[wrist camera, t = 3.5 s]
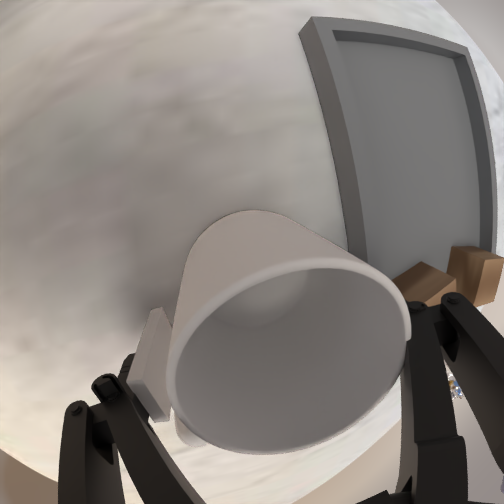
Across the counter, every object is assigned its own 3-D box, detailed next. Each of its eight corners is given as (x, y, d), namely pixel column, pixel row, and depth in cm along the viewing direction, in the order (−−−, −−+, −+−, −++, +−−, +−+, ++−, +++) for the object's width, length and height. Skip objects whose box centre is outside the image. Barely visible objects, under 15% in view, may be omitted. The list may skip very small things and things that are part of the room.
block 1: (382, 285, 18) (416, 308, 15) (421, 261, 19) (456, 278, 15) (390, 325, 20) (418, 350, 16) (425, 301, 20) (455, 321, 16)
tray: (298, 33, 13) (311, 16, 11) (449, 52, 15) (467, 47, 12) (356, 348, 21) (370, 366, 18) (474, 286, 22) (490, 294, 20)
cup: (337, 260, 18) (441, 337, 8) (228, 381, 19) (249, 496, 10) (241, 179, 16) (296, 187, 6) (132, 327, 17) (90, 447, 7)
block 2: (451, 246, 19) (484, 259, 15) (474, 246, 20) (504, 258, 16) (442, 290, 20) (472, 308, 16) (465, 285, 21) (493, 301, 17)
